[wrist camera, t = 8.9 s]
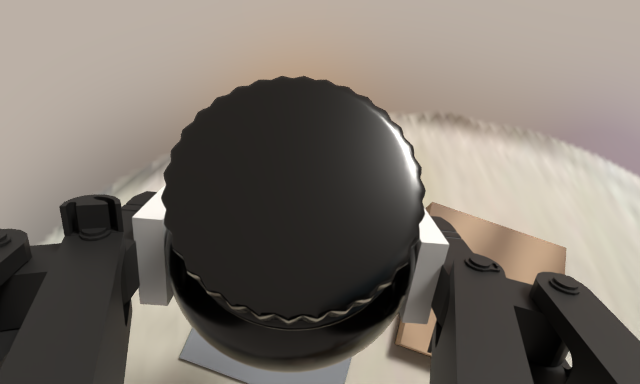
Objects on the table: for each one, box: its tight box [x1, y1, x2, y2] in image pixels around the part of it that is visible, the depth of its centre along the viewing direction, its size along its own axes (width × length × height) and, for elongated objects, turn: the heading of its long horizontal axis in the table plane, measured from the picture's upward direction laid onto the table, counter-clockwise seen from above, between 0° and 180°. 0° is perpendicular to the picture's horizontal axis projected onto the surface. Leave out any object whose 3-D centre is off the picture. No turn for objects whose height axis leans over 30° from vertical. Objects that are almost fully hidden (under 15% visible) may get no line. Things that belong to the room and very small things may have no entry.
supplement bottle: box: [161, 76, 426, 373], centre depth 12 cm, size 7×7×12 cm
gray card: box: [179, 328, 352, 384], centre depth 29 cm, size 12×12×1 cm
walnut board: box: [395, 202, 566, 357], centre depth 30 cm, size 12×12×2 cm
